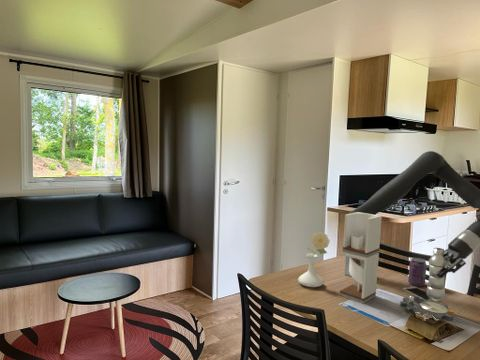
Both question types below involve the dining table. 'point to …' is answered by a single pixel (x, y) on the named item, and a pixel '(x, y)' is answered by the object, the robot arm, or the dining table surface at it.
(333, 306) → the dining table surface
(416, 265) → the beverage can
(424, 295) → the smartphone
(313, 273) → the flower in vase
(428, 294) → the silver bottle
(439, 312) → the sprocket plate
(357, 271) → the display case
